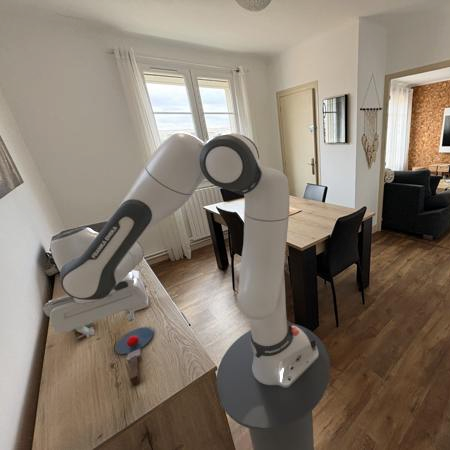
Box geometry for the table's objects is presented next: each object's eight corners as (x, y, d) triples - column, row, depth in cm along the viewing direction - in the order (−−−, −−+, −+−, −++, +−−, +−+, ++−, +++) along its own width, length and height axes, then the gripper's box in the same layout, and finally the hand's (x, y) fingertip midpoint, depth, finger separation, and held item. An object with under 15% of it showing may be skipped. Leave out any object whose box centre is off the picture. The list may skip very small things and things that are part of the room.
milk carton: (148, 298, 113) (136, 263, 106) (148, 306, 107) (135, 270, 100) (130, 304, 110) (116, 268, 103) (129, 313, 104) (115, 276, 97)
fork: (143, 380, 75) (140, 373, 74) (129, 387, 73) (126, 380, 72) (141, 350, 85) (139, 344, 84) (129, 356, 83) (127, 349, 82)
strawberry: (137, 337, 85) (140, 345, 87) (136, 331, 88) (139, 339, 90) (125, 343, 83) (129, 350, 85) (124, 336, 86) (128, 344, 87)
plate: (152, 324, 97) (151, 322, 97) (154, 343, 88) (154, 342, 88) (116, 338, 91) (116, 337, 91) (115, 360, 82) (114, 359, 82)
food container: (99, 333, 94) (89, 313, 90) (78, 342, 90) (68, 322, 87) (95, 317, 102) (86, 298, 99) (76, 325, 99) (67, 306, 95)
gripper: (35, 310, 55) (61, 354, 60) (138, 278, 66) (153, 317, 71) (43, 297, 60) (66, 338, 65) (137, 268, 71) (151, 306, 76)
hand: (112, 327), depth 68 cm, fingers open, 8 cm apart
